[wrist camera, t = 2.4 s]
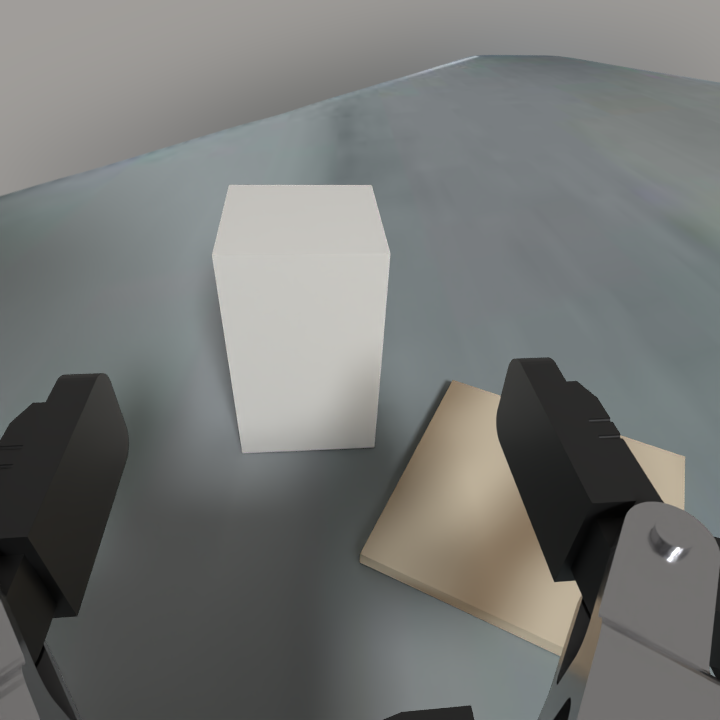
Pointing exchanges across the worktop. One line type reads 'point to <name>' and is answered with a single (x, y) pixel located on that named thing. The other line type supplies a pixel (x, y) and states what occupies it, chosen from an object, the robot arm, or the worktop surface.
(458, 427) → the cork mat
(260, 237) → the white rectangular block
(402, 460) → the worktop surface
